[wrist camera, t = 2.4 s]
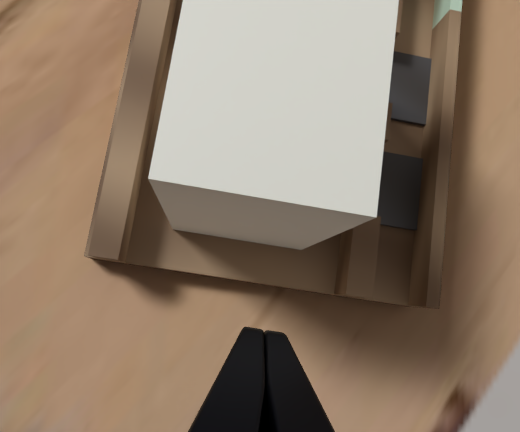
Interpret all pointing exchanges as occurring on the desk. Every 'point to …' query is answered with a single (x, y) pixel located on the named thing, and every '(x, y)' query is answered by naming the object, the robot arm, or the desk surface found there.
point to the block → (275, 118)
